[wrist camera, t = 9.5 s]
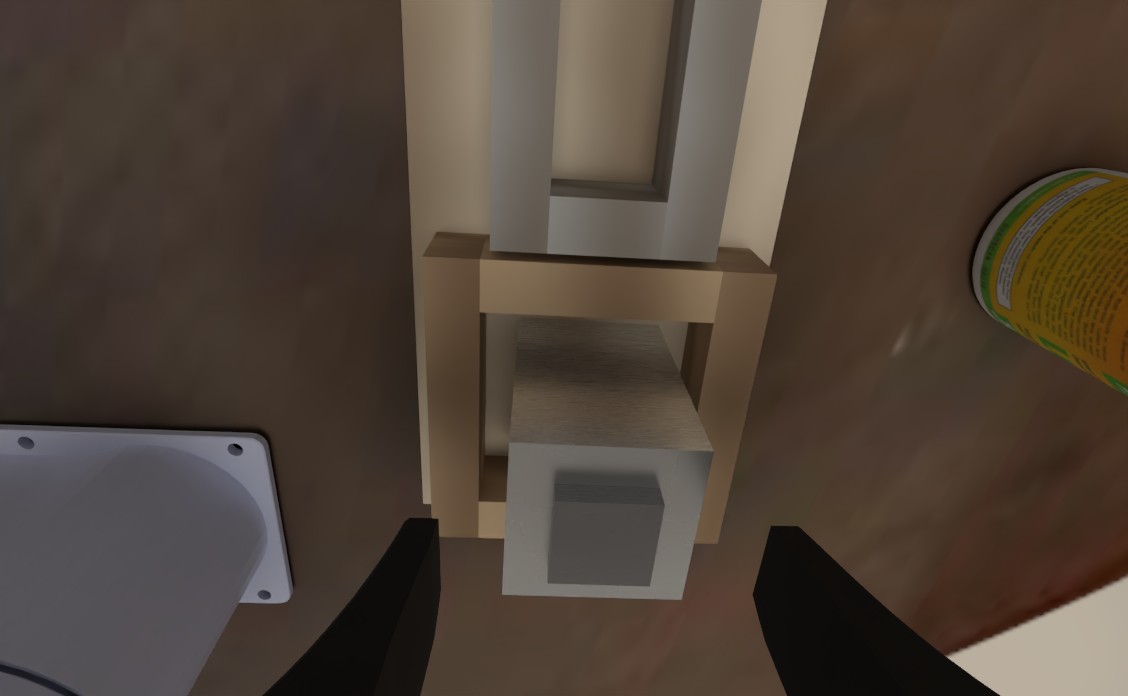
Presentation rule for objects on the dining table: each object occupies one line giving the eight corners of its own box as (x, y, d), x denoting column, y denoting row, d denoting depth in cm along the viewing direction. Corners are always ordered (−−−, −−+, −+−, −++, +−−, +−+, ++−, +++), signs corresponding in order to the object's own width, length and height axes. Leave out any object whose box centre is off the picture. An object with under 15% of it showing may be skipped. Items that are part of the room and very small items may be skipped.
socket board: (426, 489, 23) (410, 553, 20) (395, -289, 14) (356, -384, 11) (711, 498, 24) (735, 560, 21) (865, -241, 15) (949, -318, 12)
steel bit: (513, 435, 21) (500, 614, 15) (519, 317, 19) (507, 458, 13) (640, 441, 22) (686, 619, 15) (658, 325, 20) (721, 468, 13)
